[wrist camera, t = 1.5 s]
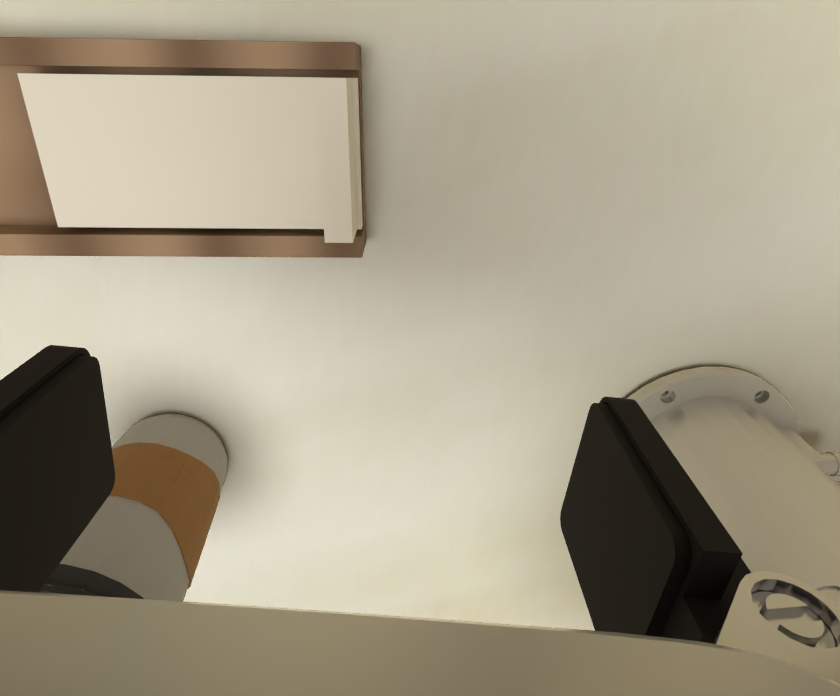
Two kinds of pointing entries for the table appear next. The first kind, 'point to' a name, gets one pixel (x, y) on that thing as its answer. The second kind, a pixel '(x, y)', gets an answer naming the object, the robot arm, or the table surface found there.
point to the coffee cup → (149, 514)
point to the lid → (199, 151)
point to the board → (6, 56)
